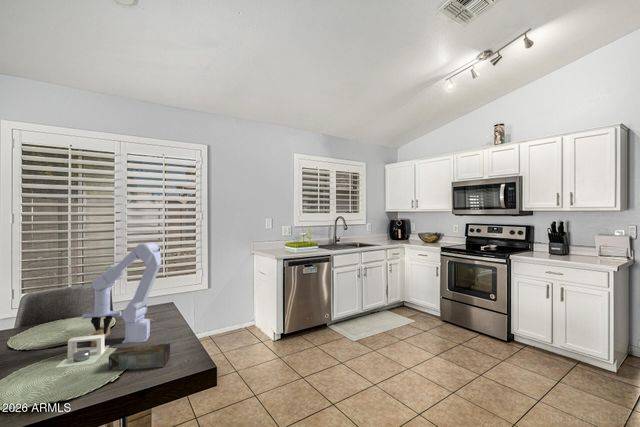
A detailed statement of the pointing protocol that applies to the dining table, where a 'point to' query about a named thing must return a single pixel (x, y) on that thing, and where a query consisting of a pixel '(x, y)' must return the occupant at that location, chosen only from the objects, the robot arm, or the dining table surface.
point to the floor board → (91, 360)
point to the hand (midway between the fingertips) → (101, 333)
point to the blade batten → (100, 332)
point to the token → (81, 356)
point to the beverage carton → (139, 357)
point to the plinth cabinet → (73, 341)
